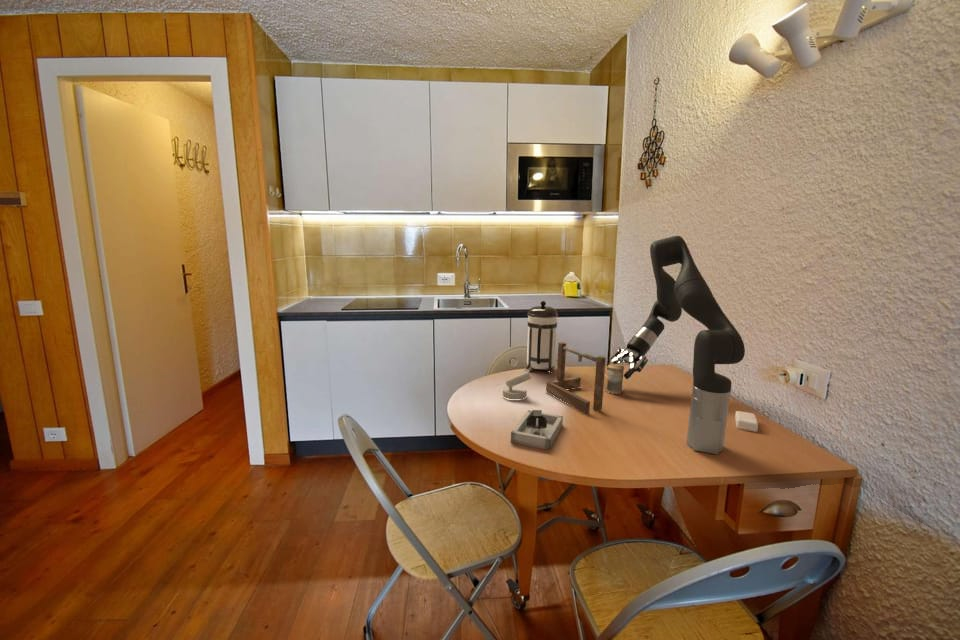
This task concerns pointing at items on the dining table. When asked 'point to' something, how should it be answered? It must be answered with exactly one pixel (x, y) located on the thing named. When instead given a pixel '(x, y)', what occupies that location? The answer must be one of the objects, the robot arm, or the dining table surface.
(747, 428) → the soap
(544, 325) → the coffee press
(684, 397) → the dining table surface
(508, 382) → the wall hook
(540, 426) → the power plug
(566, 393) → the wooden frame rack
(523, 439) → the plug tray
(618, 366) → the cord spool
